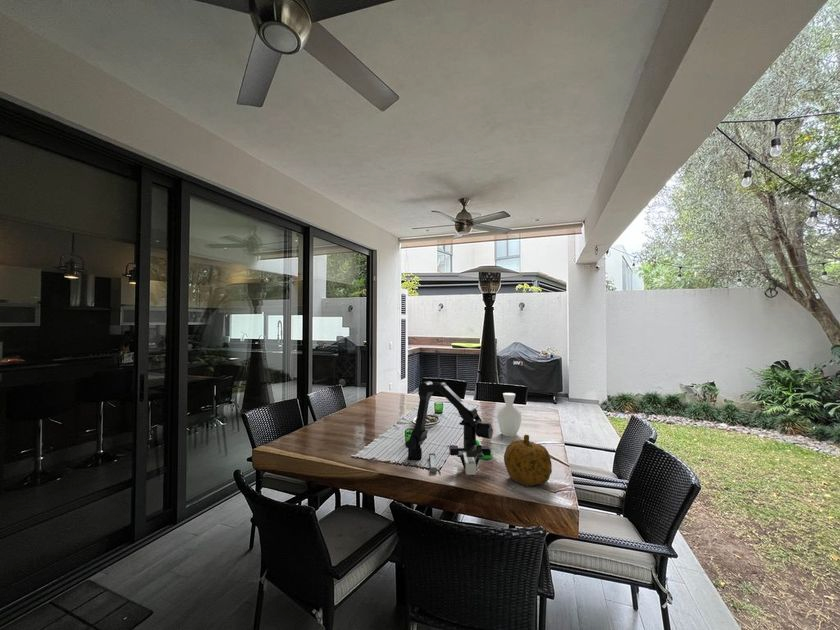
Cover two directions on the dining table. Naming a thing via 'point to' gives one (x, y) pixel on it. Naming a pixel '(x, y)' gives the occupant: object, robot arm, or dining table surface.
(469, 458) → the block
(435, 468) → the rail
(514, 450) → the decorative pumpkin
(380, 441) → the dining table surface
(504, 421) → the vase
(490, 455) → the mechanical part
